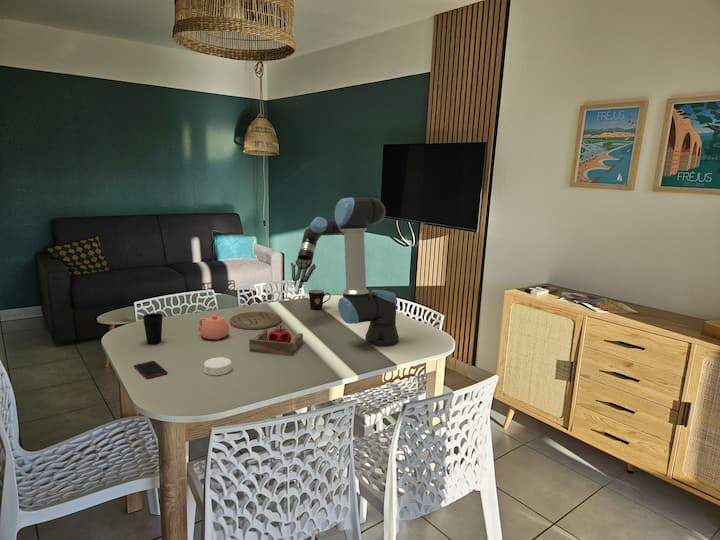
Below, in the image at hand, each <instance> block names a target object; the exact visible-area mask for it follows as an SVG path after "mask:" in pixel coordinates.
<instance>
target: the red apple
mask: <svg viewBox="0 0 720 540" xmlns="http://www.w3.org/2000/svg"><path fill="white" fill-rule="evenodd" d="M271 330H272V331H270V332H268V333H267V341H277V342H287V343H291V342H292V334H291V333H290V332H289V331H287V330H288V329H287V328H285V326H283V324H281V325H280V324H279V327H278V326H275V328H272V329H271Z"/></svg>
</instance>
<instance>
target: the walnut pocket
mask: <svg viewBox="0 0 720 540" xmlns="http://www.w3.org/2000/svg"><path fill="white" fill-rule="evenodd" d="M303 336H304V335H303V333H300V332H299V333H298V334H297V335H296V336H295V337H294V339H292V340H291V342H290V343H287V342H277V341H269V340H268V329H263V331H261V332H260V333H258V335H256V336H255V337H254V338H250V339H248V341H249V343H248V344H249V345H248V346H249V347H248V348H249V352H253V353H260V354H261V353H263V354H270V355H281V356H290V357H291V356H292V355H293V354H294V352H295V351H297V349H298V348H299V347H300V346H301V345H302V343H303V341H304V339H303V338H304V337H303Z"/></svg>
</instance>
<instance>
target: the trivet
mask: <svg viewBox="0 0 720 540" xmlns="http://www.w3.org/2000/svg"><path fill="white" fill-rule="evenodd" d="M281 323H282V318H281V316H280V315H278V314H277V313H274V312H268V311H267V312H266V311H249V312H242V313H238V314H236V315H233V316H232V317H230V318H229V325H231V327H233V328H236V329H237V330H238V329H239V330H245V331H246V330H248V331H259V330H260V331H261V330H269V329H271V328H272V329H273V328H276V327H278V326H280V324H281Z"/></svg>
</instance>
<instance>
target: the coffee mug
mask: <svg viewBox="0 0 720 540" xmlns="http://www.w3.org/2000/svg"><path fill="white" fill-rule="evenodd" d="M326 295H329V297H328V298H327V299H326V300H325V301H324V298H325V296H326ZM308 296H309V307H310V308H309V309H310V310H312V311H321V310H322V309H323V306H324V304H325V303H326V302H328V301H329V300H331V297H332V296H331V294H330V293H329V292H325V290H323V289H317V288H316V289H310V290H308Z"/></svg>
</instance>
